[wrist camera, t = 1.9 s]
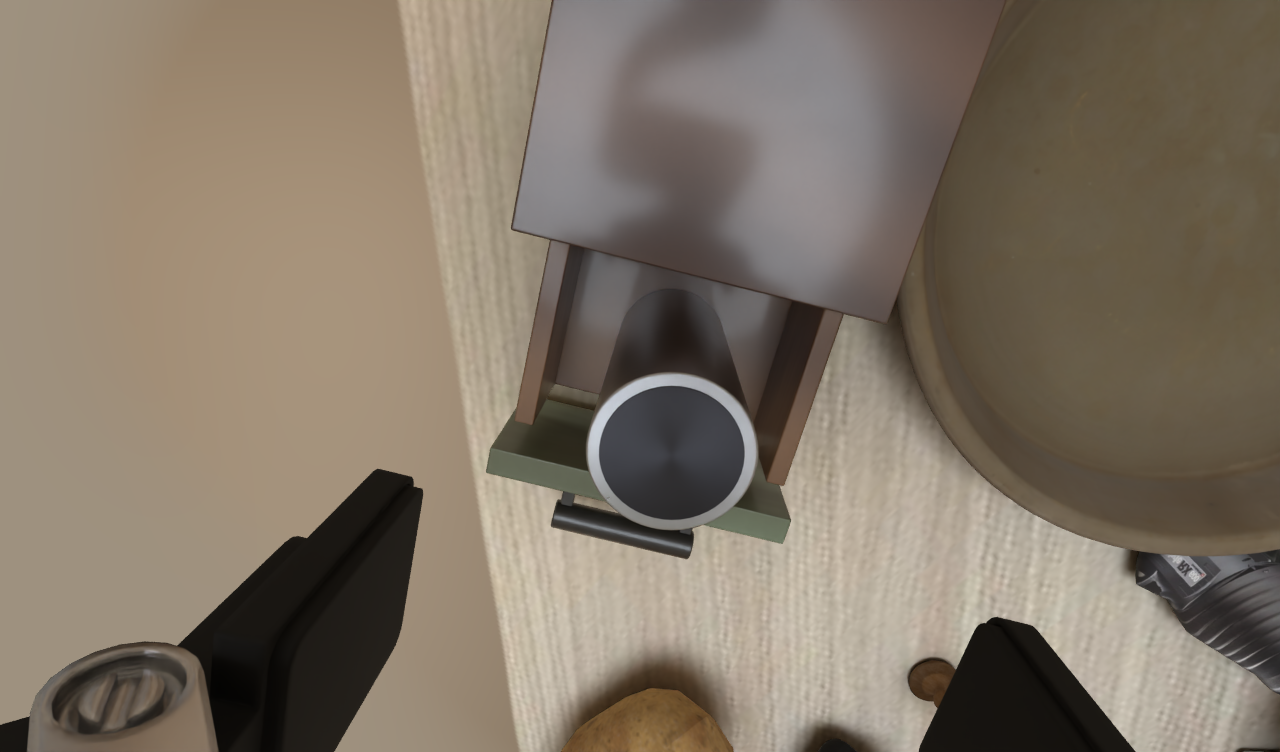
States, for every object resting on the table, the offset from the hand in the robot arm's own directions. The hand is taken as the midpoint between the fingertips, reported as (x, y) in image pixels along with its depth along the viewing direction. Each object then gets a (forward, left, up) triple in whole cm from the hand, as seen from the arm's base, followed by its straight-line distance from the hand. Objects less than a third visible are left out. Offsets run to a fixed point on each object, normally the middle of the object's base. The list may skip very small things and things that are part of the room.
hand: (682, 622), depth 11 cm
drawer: (+2, 0, -23) cm, 23 cm away
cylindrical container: (+1, 0, -22) cm, 22 cm away
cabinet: (-11, 0, -24) cm, 26 cm away
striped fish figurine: (+5, +36, -24) cm, 44 cm away
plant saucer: (-11, +23, -24) cm, 34 cm away
